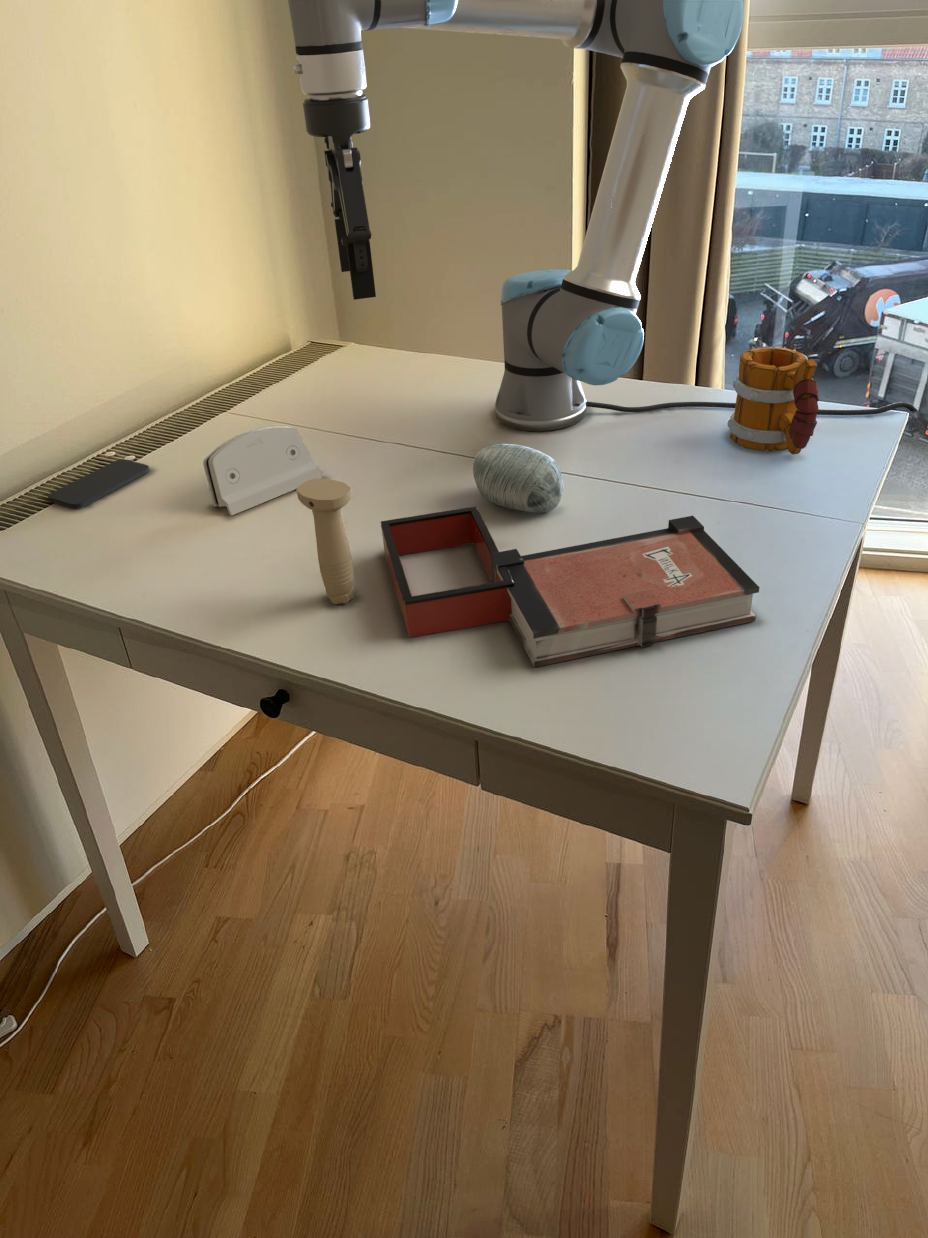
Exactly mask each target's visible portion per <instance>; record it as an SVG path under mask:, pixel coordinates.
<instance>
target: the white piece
mask: <svg viewBox="0 0 928 1238" xmlns="http://www.w3.org/2000/svg"><path fill="white" fill-rule="evenodd" d="M202 465H203V469H204V473H205V476H206V477H205V478H206V481H207V485H208V489H209V492H210V497H211V501H212V504H213V507H215V508H217V507H221V508H222V507H226V509H227V512H228V515H229V516H234V515H237V514H239V513H242V512H244V511H246V510H249V509H251V508H254V507H256V506H258V505H261V504H263V503H265V502H268V501H270V500H273V499H276V498H277V497H280V496H282V495H285V494H287V493H290V492H293V491H295V490H297V488H298V487H299V486H300V485H301V484H303V483H304V482H306V481H309V480H312V479H323V475H322V473H321V469H320V468H319V466H318V465H317V464H316V463H315V461H314V460H313V458H312V455H311V454H310V452H309V449H308V447H307V446H306V444H305V441H304V439H303V437H302V435H301V433H300V431H299V429H297V428H295V427H292V426H283V425H282V426H267V427H261V428H256V429H251V430H249V431H246V432H243V433H240V434H238V435H236V436H234V437H232V438H230V439H228V440H226V441H225V442H223V443H222V444H220V445H219V446H218V447H216V448H214V450H213V451H212V452H210V453H209V454H208V455H207V456H206V457H205V458H204V459H203V462H202Z"/></svg>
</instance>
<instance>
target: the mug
mask: <svg viewBox="0 0 928 1238" xmlns="http://www.w3.org/2000/svg"><path fill="white" fill-rule="evenodd" d="M738 365H739V367H738V375H737V376H736V377H735V380H733V383H732V387H733V389H734V390H735V393H736V401H735V403H736V405H735V408H734V412H732V414H730V415H731V416H730V418H729V419H728V420H727V422H726V423H727V427H728V428H729V431H730V434H729V438H730V439H731V441H732V442H733V443H735V444H736V445H738V446H740V447H743V448H745V449H748V450H753V451H759V452H766V451H767V452H773V451H774V452H775V451H776V452H779V451H783V450H787V451H788V452H789V454H790V455H799V454H800V453H801V451H802V450H803V449H806V447H807V445H808V443H809V442H810V439H811V437H813V436H814V431H815V428H816V427H817V424H818V421H817V415H816V414H817V413H818V412H819V409H820V408H819V401H820V399H819V397H820V396H819V388H818V383H817V381H815V380H814V378H813V377H814V376H815V373H816V370H817V366H818V364H817V363H816V361H815V359H813V358H809V359H808V357H807V356H806V355H805V354H804V353H802V352H800V351H797V350H795V349H791V348H787V347H782V346H781V347H780V346H773V347H770V346H765V347H764V346H763V347H755V348H752V349H749V350H747V351H743V352H742V353H741V354H740V355H739V364H738Z"/></svg>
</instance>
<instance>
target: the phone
mask: <svg viewBox="0 0 928 1238" xmlns="http://www.w3.org/2000/svg"><path fill="white" fill-rule="evenodd" d="M150 470H151V469H150V466H149V465H148V464H144V463H141V462H137V461H132V460H129V459H125V458H124V459H123V458H122V459H116V460H114V461H112V462H110V463H108V464H106V465H104V466H102V467H100V468H98V469H97V470H96V469H95V470H94V471H92V472H90V473H88V474H85V475H84V476H82V477H80V478H78V479H76V480H74V481H72V482H71V483H68V484H66V485H64V486H62V487H60V488H58V489H56V490H54V491H52V492H50V493H49V494H48V495H47V497H48V502H51V503H54V504H58V505H60V506H65V507H68V508H71V509H80V508H84V507H85V506H87V505H89V504H91V503H92V502H94V501H98V499H101V498H102V497H104V496H106V495H108V494H110V493H112V492H114V491H116V490H118V489H120V488H121V487H123V486H126V485H127V484H128V483H129V484H130V483H131V482H132V481H134V480H136V479H138V478H140V477H142V476H144V475H146V474H148V473H149V472H150Z"/></svg>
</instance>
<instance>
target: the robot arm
mask: <svg viewBox="0 0 928 1238" xmlns="http://www.w3.org/2000/svg"><path fill="white" fill-rule="evenodd" d="M287 4H288V9H289V16H290V21H291V28H292V35H293V40H294V47H295V48H294V49H295V54H296V60H297V61H298V62H299V63H297V64H293V65H292V73H293V74H294V75H300V76H299V83H300V91H301V93H302V94H303V95H305V96H307V98H306V99H304V100H303V102H302V107H303V108H302V109H303V115H304V122H305V123H304V124H305V129H306V130H305V131H306V133H307V134H308V135H310V136H311V137H316V138H323V141H324V144H325V149H326V150H323V157H324V163H325V166H326V172H327V173H326V174H327V177H328V180H329V190H330V191H329V192H330V201H331V202H330V207H331V208H332V214H333V216H334V226H335V234H336V240H337V242H336V243H337V248H338V257H339V265H340V271H341V273H347V272H349V274H350V275H349V276H350V282H351V288H352V289H351V291H352V298H353V300H363V299H371V298H377V294H376V286H375V284H376V283H375V275H374V267H373V258H372V257H373V256H372V250H371V249H372V248H371V242H370V240H371V239H372V235H373V234H372V231H371V228H370V222H369V217H368V215H369V214H368V210H367V205H366V203H367V202H366V197H365V191H364V186H363V180H364V179H363V174H362V169H361V168H362V167H361V165H362V157H361V152H360V150H359V149H358V146H357V147H354V144H353V143H354V142H353V138H352V136H353V135H357V134H358V135H359V134H363V133H366V132H368V131H369V129H371V117H370V106H369V97H367V95H366V94H364V93H363V91H364V90H366V89H367V86H368V83H367V74H366V65H365V55H364V48H363V42H362V31H373V30H383V29H384V30H385V29H397V28H399V29H400V28H401V29H414V30H415V29H416V30H430V31H441V32H443V31H444V32H458V33H459V32H460V33H470V34H471V33H473V34H486V35H499V36H500V35H501V36H513V37H528V38H543V39H555V40H556V39H557V40H560V41H561V43H562V44H563V45H564V46H565V47H566V48H569V49H576V50H577V49H579V50H587V51H592V52H597V53H602V54H605V55H608V56H614V57H617V58H621V59H622V60H621V63H620V67H619V68H620V70H621V72H622V75H623V76H624V79H625V81H626V88H625V91H624V95H623V99H622V101H621V106H620V109H619V113H618V116H617V120H616V123H615V127H614V131H613V135H612V138H611V142H610V146H609V149H608V153H607V156H606V161H605V165H604V168H603V172H602V175H601V178H600V182H599V186H598V189H597V193H596V197H595V200H594V204H593V207H592V211H591V214H590V218H589V222H588V226H587V229H586V233H585V237H584V241H583V244H582V247H581V250H580V251H581V252H580V254H579V258H578V262H577V266H576V267H575V268H574V269H572V270H569V269H558V268H557V269H556V268H555V269H543V270H542V269H541V270H535V271H528V272H524V273H523V272H522V273H519V274H516V275H512V276H510V277H508V278H507V279H506V280H504V282H503V284H502V286H501V298H500V306H501V314H502V315H501V317H502V340H503V343H502V344H503V361H504V363H503V364H504V372H503V376H502V379H501V382H500V387H499V388H498V391H497V394H496V398H495V399H496V400H495V403H494V404H495V405H494V407H495V408H494V410H495V418H496V420H497V421H498V422H499V423H500V424H501V425H504V426H505V427H508V428H511V429H515V430H519V431H527V432H547V431H555V430H561V429H565V428H569V427H571V426H573V425H576V424H578V423H579V422H581V421H582V420H583V419H585V417H586V415H587V408H595V409H604V410H611V411H616V412H622V413H644V412H652V411H657V410H663V409H671V408H673V409H674V408H720V409H722V408H725V409H735V405H736V402H722V401H674V402H664V403H657V404H652V405H645V406H623V405H618V404H617V405H616V404H612V403H604V402H595V401H589V400H587V399H586V396H585V393H584V390H583V387H582V383H581V382H583V383H584V384H587V385H590V386H605V385H608V384H612V383H614V382H616V381H617V380H618V379H619V378H620V377H621V376H625V375H626V374H627V373H628V372H629V371H630V370H631V369H632V367H633V366H634V365H635V363H636V362H637V361H638V359H639V356H640V354H641V352H642V349H643V345H644V339H645V337H644V336H645V332H644V328H642V322H641V320H640V319H639V317H638V316H637V311H638V308H639V305H640V301H641V297H642V296H641V294H640V292H639V290H638V288H637V286H636V279H637V275H638V272H639V268H640V265H641V262H642V258H643V255H644V252H645V248H646V245H647V241H648V237H649V235H650V232H651V228H652V224H653V222H654V218H655V215H656V211H657V208H658V205H659V201H660V198H661V194H662V192H663V188H664V184H665V182H666V178H667V174H668V172H669V168H670V164H671V162H672V157H673V155H674V151H675V147H676V144H677V141H678V137H679V135H680V131H681V127H682V125H683V121H684V118H685V115H686V111H687V107H688V105H689V102H690V100H691V99H692V98H693V97H694V96H696V95H697V94H699V93H700V92H702V91H703V90H705V88H706V85H707V81H708V78H709V75H710V71H711V69H712V67H714V66H716V65H717V64H719V63H721V62H723V61H724V59H725V57H726V56H729V55H730V54H731V53H732V51H733V50H734V48H735V46H736V44H737V43H738V40H739V38H740V35H741V32H742V27H743V23H744V14H745V13H744V12H745V11H744V0H287ZM900 408H905V409H907V410H909V411H910V412H912V413H915V412H916V413H917V412H918V409H917V407H916V406H914V405H913V404H911V402H906V401H897V402H894V403H891V404H887V405H885V406H882V407H877V408H867V409H821V408H818V409H819V412H818V413H817V414H816V416H868V415H869V416H871V415H879V414H883V413H888V412H890V411H892V410H895V409H900Z"/></svg>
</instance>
